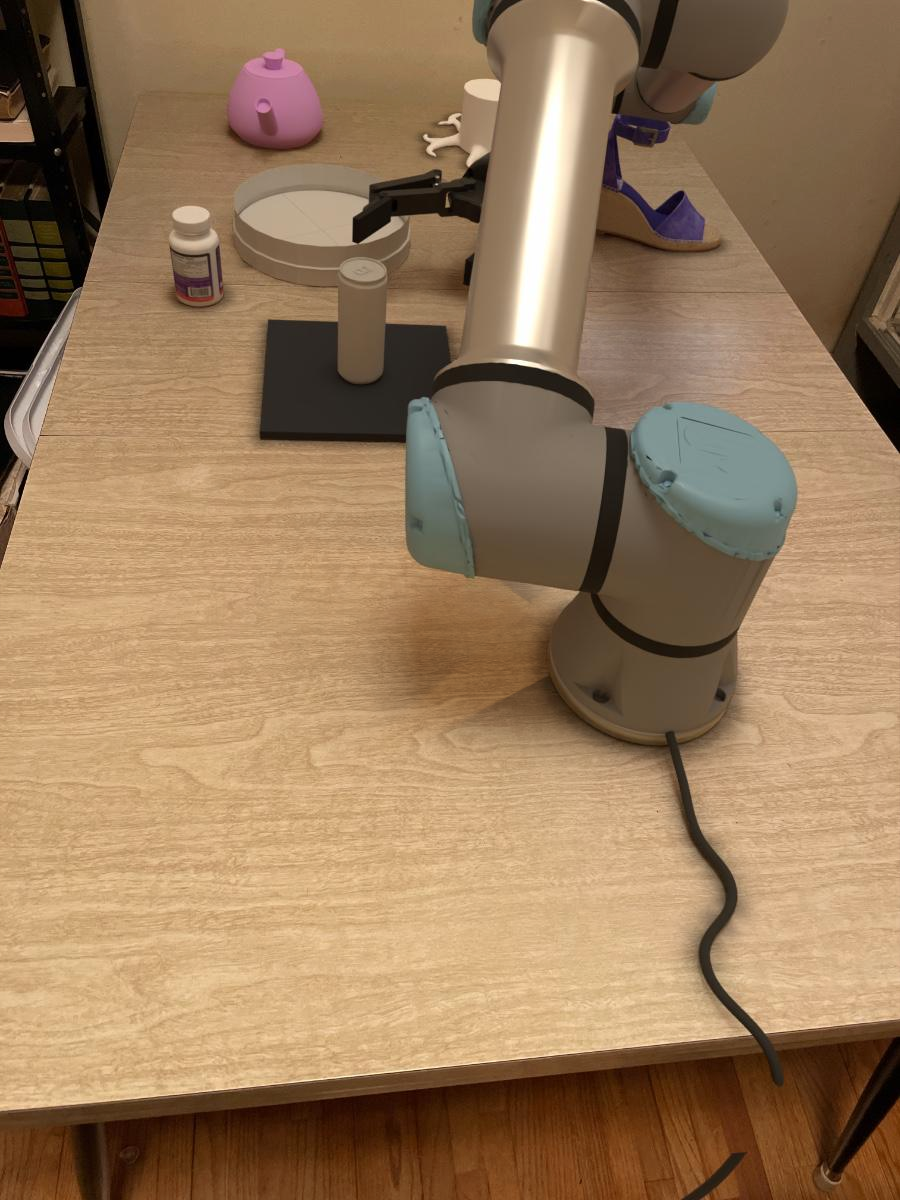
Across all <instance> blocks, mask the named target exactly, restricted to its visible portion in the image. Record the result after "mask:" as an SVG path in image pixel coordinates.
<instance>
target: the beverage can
mask: <svg viewBox="0 0 900 1200" xmlns="http://www.w3.org/2000/svg"><path fill="white" fill-rule="evenodd" d="M388 279H389V277H388V275H387V270H386V267H385V266H384V264H382V263H381V262H379V261H377V260H375V259H371V258H365V257H356V258H351V259H347V260H346V261H344V262H343V263H342V264H341V265H340V271H339V274H338V286H337V322H338V372H339V374H340V375H341V376H342V377H343V378H344V379H345V380H346V381H348V382H350V383H353V384H368V383H372V382H374V381H376V380H377V379H378V378H379V377H380V376H381V375H382V373H383V363H384V344H385V324H387V323H386V321H387V303H388V302H387V300H388V281H389V280H388Z"/></svg>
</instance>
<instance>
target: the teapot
mask: <svg viewBox="0 0 900 1200" xmlns="http://www.w3.org/2000/svg"><path fill="white" fill-rule="evenodd" d="M228 96H229V97H228V101H227V109H226V110H227V111H226V115H227V116H226V118H227V122H228V124H229V126H230V128H231V129H232V130H233V131H234V132H235V134H236V135H237V136H239V138H240V139H241V140H243V141H244V142H246V143H247V144H250V145H253V146H257V147H260V148H265V149H272V150H273V149H274V150H286V149H294V148H295V149H297V148H300V147H303V146H306V145H307V144H309V143H310V142H312V141H313V140H314V139H315V138H316V137H317V135H318V134H319V132H320V131H321V130H322V127H323V125H324V114H323V108H322V104H321V100H320V97H319V95H318V93H317V90H316V87H315V86H314V84H313V82H312V80H311V79H310V77H309V76H308V74H307V73H306V71H305V69H304V68H303V67H302V66H301V65H300V64H299V63H297V62H296V61H294V60H291V59H287V55H286V51H285V49H283V48H281V47H278V48H275V49H274V51H266V52H264V53H263V54H262V56H261V57H255V58H252V59H250V60H249V61H247V62H246V63H245V64H244V65H243V67H242V69H241V70H240V71H239V73H238V75H237V77H236V79H235V81H234V83H233V84H232V87H231V90H230V92H229V95H228Z"/></svg>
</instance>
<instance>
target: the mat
mask: <svg viewBox="0 0 900 1200" xmlns="http://www.w3.org/2000/svg"><path fill="white" fill-rule="evenodd" d="M266 327H267V329H266V342H265V343H266V344H265V355H264V356H265V357H264V367H263V368H264V369H263V380H262V381H263V382H262V397H261V398H262V399H261V407H260V408H261V409H260V425H259V438H260V440H289V441H290V440H291V441H294V440H295V441H336V442H337V441H339V442H343V441H344V442H385V443H386V442H388V443H389V442H390V443H393V442H395V443H406V428H407V417H408V405H409V403H410V402H411V401H412V400H414V399H421V398H422V397H426V398H429V400H431V395H432V389H433V382H434V378H435V376H436V374H437V373H438V372H439V371H440V370H441V369H443V368H444V367H446V366H447V365H449V364H450V363H452V356H451V349H450V344H449V343H450V342H449V338H448V337H449V336H448V330H447V325H441V324H440V325H438V324H437V325H436V324H414V323H413V324H410V323H386V324H385V344H384V363H383V373H382V375H381V376H380V377H379V378H378V379H377V380H376V381H374V382H372V383H368V384H353V383H350V382H348V381H346V380H345V379H344V378H343V377H342V376H341V375H340V374H339V372H338V321H327V320H326V321H325V320H324V321H323V320H301V319H300V320H299V319H298V320H297V319H273V318H272V319H271V318H270V319H267V326H266Z"/></svg>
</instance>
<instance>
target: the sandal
mask: <svg viewBox="0 0 900 1200" xmlns="http://www.w3.org/2000/svg"><path fill="white" fill-rule="evenodd" d="M612 121H613V122H612V123H611V126H610V128H609V133H608V140H607V148H606V156H605V163H604V171H603V179H602V186H601V194H600V201H599V209H598V217H597V224H596V232H595V234H598V235H605V234H611V235H614V236H615V235H616V236H619V237H623V238H625V239H629V240H633V241H635V242H638V243H642V244H645V245H648V246H650V247H654V248H657V249H661V250H664V251H669V252H679V253H680V252H682V253H695V252H697V253H698V252H706V251H710V250H714V249H716V248H718V247H719V245H720V243H721V241H722V238H723V233H722V231H721V230H720V229H718V228H717V227H715V226H714V225H712V224H709V223H706V218H705V217H704V216H703V215H702V214H700V212H699V211H698V210H697V209H696V208H695V206H694V205H693V203H692V202H691V201H690V199H689V197H688V194H687V192H686V191H685V190H684V189H681V190H680V189H679V190H678V191H676V192H675V193H673V194H671V196H669V198H667V199H666V200H665V201H664V202H662V203H661V204H660V205H658V207H657V208H655V209H654V208H653V207H652V206H651V204H649V203H648V202H647V200H646V199H645V198H644V197H643V196H642V194H641V193H640V192H639V191H637V189H635V187H633V186H632V185H631V184H630V183H628V182H627V181H626V180H624V179H623V174H622V168H621V162H620V153H619V145H618V137H620V138H621V139H624V140H627V141H630V142H632V144H633V145H634V146H637V147H642V148H649V149H652V148H654V146H655V145H659V144H664V143H665V142H667V140H668V137H669V134H670V132H671V128H672V127H671V123H670V122H665V121H659V120H653V119H646V118H640V117H633V116H627V115H621V114H615V116H614V119H613V120H612Z"/></svg>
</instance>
